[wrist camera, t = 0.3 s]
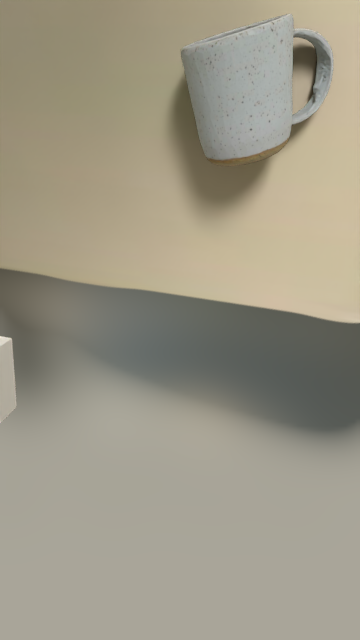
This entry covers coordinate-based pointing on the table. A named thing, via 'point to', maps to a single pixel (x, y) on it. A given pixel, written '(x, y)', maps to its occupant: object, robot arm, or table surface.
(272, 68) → the ceramic mug
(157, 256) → the table surface
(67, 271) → the table surface
